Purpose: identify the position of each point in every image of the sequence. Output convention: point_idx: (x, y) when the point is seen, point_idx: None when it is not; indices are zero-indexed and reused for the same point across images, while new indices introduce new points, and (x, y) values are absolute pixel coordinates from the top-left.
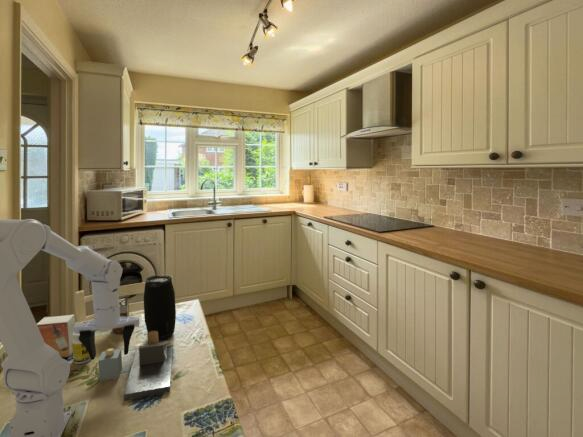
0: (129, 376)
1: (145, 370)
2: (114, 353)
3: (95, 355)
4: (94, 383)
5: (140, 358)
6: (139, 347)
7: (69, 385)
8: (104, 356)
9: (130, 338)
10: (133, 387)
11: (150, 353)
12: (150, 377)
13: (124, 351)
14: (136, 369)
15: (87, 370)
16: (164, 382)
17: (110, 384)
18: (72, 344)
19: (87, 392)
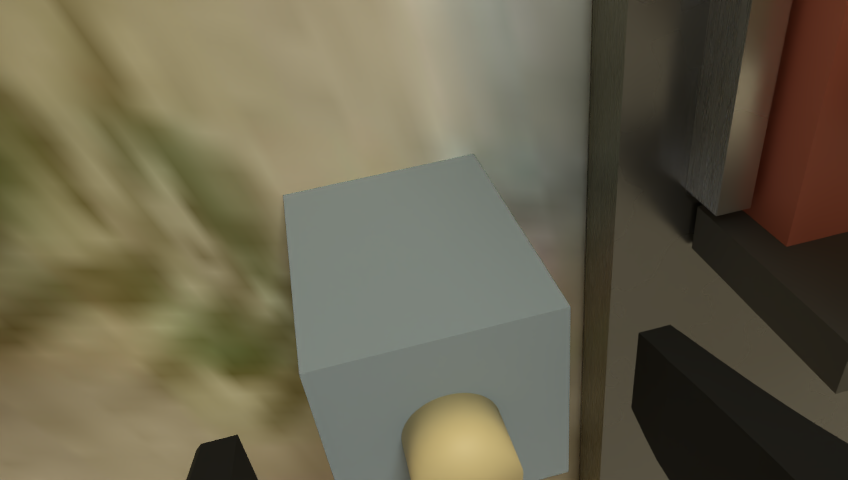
0: (609, 381)
1: (735, 311)
2: (504, 404)
3: (246, 463)
4: (291, 365)
5: (751, 297)
6: (846, 368)
7: (54, 394)
8: (390, 462)
9: (840, 448)
10: (649, 473)
11: None
12: (763, 387)
13: (663, 459)
14: (660, 298)
15: (50, 170)
16: (840, 424)
17: None
18: None
19: (295, 450)
